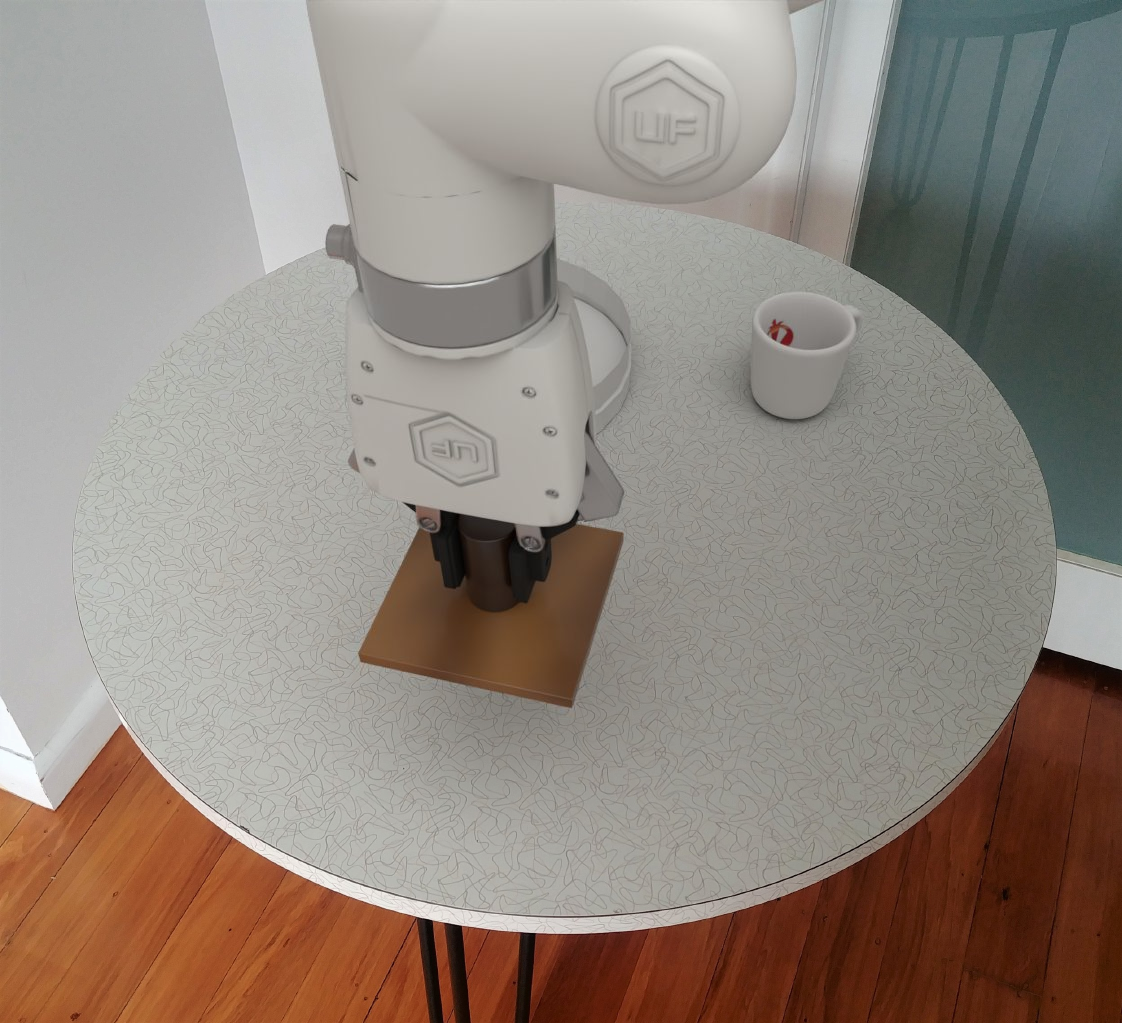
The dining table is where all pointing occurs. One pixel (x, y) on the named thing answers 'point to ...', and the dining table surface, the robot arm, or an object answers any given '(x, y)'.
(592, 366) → the dish
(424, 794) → the dining table surface
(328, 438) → the dining table surface
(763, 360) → the cup
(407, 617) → the square peg stand
